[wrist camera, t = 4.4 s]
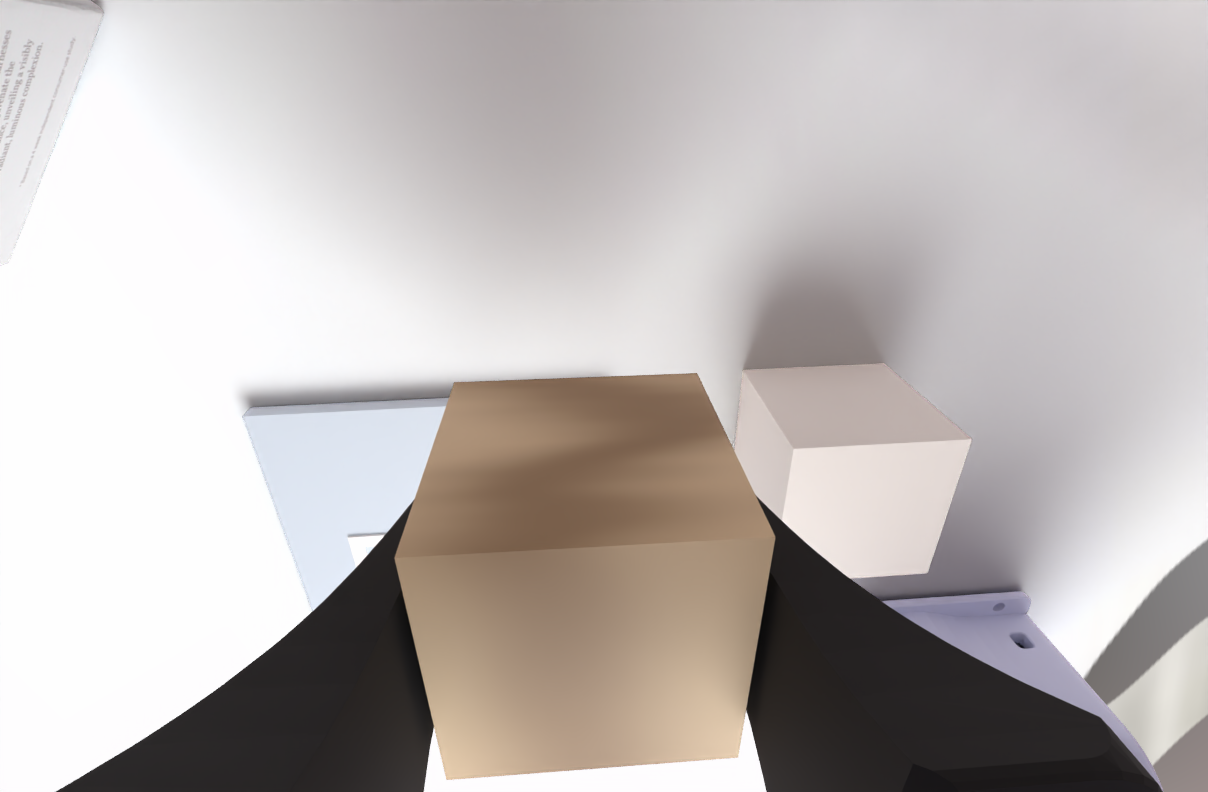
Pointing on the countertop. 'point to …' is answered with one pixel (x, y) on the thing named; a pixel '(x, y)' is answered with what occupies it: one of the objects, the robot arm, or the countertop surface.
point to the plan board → (341, 477)
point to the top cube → (851, 463)
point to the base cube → (584, 576)
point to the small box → (36, 95)
